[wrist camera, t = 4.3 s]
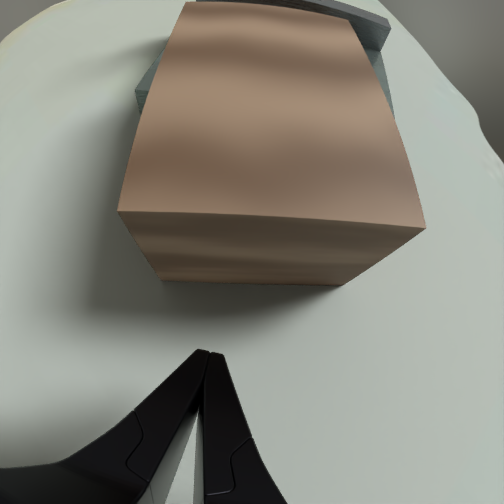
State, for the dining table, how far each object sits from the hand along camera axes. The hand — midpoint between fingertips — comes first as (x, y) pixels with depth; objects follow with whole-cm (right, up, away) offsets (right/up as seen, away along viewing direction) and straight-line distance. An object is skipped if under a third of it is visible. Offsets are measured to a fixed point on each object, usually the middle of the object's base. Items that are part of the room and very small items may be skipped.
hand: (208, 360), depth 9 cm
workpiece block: (+1, +9, +12) cm, 15 cm away
